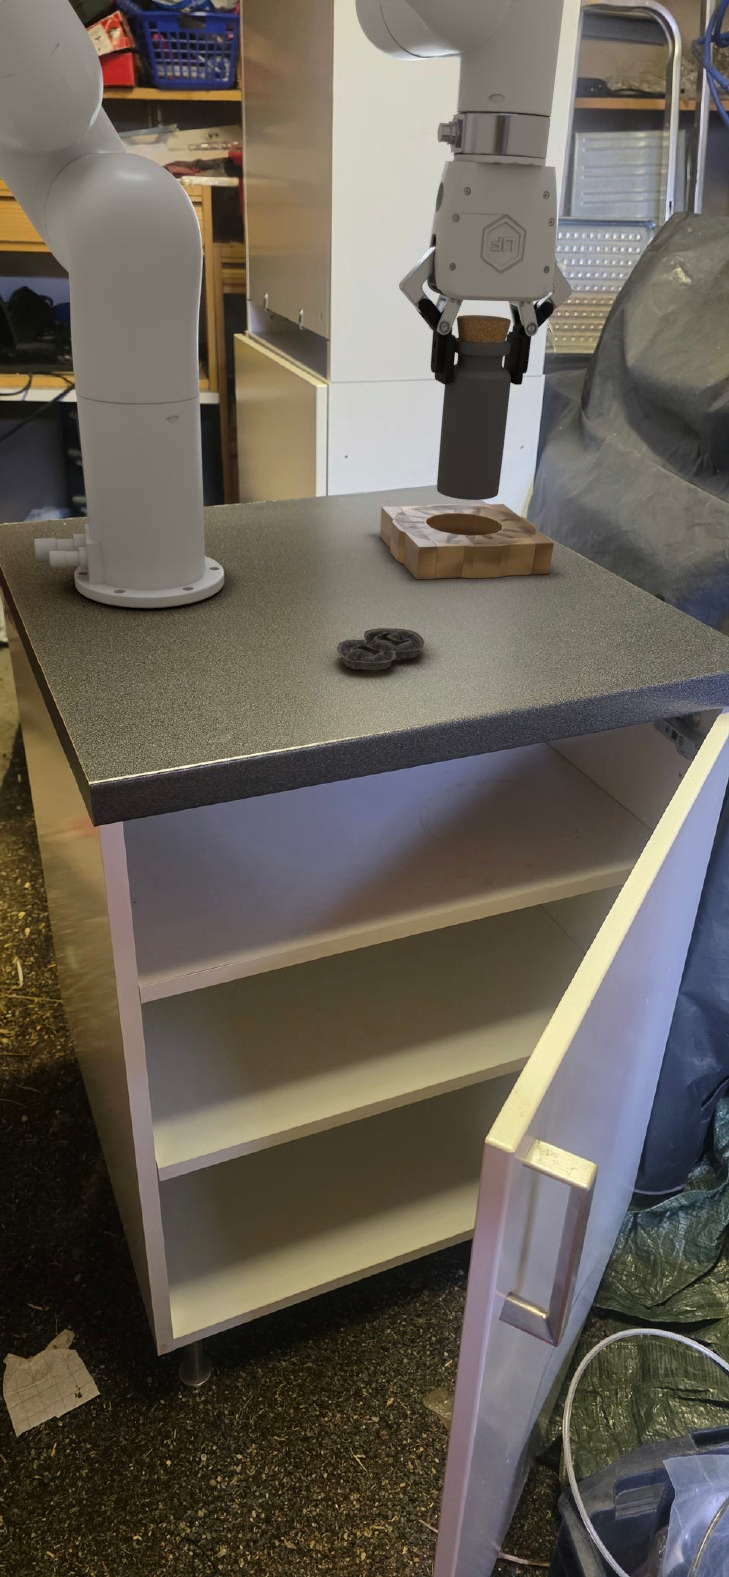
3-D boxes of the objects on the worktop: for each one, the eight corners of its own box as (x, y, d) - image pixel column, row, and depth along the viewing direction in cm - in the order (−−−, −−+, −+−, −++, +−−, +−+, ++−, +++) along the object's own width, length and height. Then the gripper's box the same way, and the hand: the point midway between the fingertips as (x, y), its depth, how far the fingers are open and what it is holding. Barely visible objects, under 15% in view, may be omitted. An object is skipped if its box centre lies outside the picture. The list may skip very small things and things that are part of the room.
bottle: (511, 497, 96) (531, 321, 88) (459, 503, 93) (476, 323, 85) (474, 481, 100) (491, 313, 92) (424, 487, 97) (437, 314, 90)
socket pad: (413, 581, 92) (416, 548, 91) (375, 535, 104) (377, 505, 102) (554, 575, 96) (559, 543, 94) (502, 531, 107) (505, 502, 105)
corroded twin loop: (319, 662, 76) (320, 648, 75) (387, 633, 81) (387, 620, 80) (372, 682, 73) (373, 668, 72) (438, 651, 78) (439, 638, 78)
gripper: (410, 136, 77) (396, 389, 86) (619, 149, 81) (584, 390, 90) (384, 138, 83) (374, 374, 93) (579, 150, 87) (550, 375, 97)
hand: (478, 380), depth 91 cm, fingers closed on bottle, 5 cm apart
